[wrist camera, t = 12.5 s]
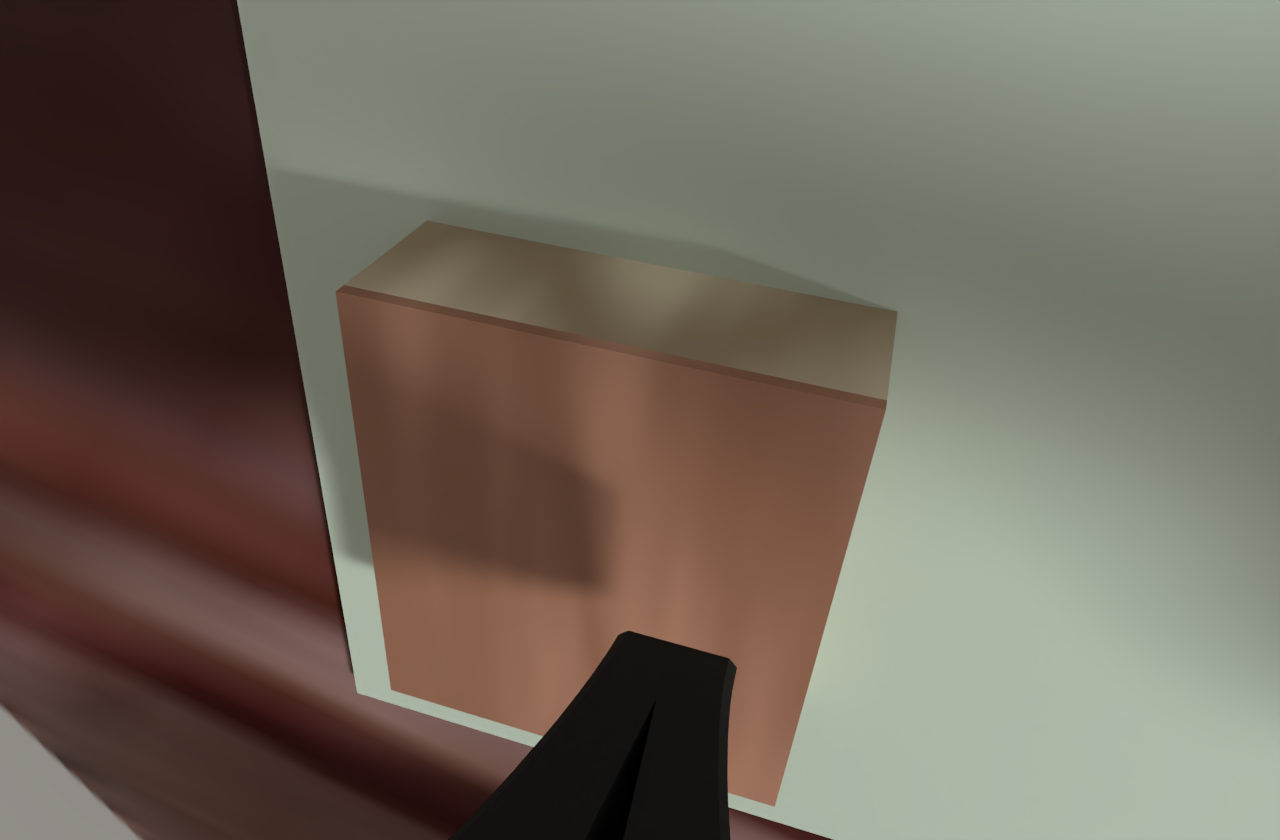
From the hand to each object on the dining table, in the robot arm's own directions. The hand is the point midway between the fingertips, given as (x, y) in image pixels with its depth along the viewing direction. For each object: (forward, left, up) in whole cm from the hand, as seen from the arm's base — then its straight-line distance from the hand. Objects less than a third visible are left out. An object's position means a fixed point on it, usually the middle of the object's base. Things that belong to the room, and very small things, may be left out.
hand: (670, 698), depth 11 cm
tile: (-2, +1, -3) cm, 4 cm away
